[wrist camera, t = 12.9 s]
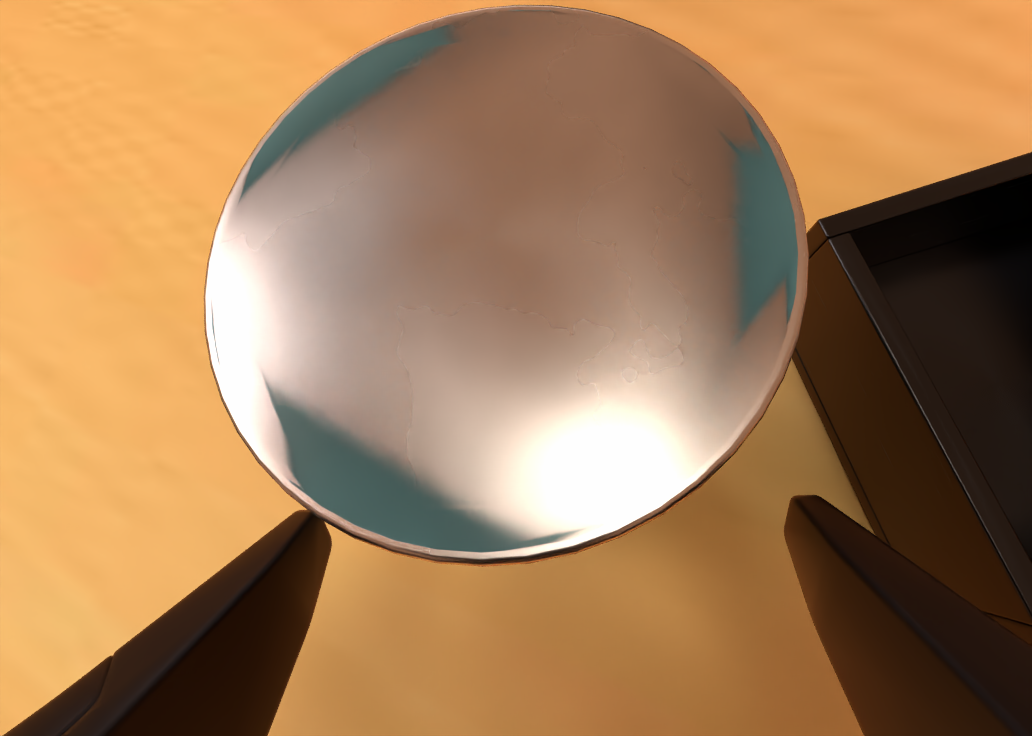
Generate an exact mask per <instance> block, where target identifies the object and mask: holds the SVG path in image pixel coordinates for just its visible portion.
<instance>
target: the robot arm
mask: <svg viewBox="0 0 1032 736" xmlns="http://www.w3.org/2000/svg"><path fill="white" fill-rule="evenodd" d="M784 536H785V540H786V543H787V546H788V549H789V552H790V555H791V558H792V561H793V564H794V567H795V570H796V573H797V576H798V579H799V582H800V585H801V588H802V591H803V594H804V597H805V600H806V603H807V606H808V609H809V612H810V615H811V618H812V621H813V623H814V626H815V628H816V631H817V633H818V635H819V638H820V640H821V642H822V644H823V646H824V649H825V651H826V653H827V655H828V657H829V660H830V662H831V664H832V666H833V668H834V670H835V673H836V675H837V677H838V679H839V681H840V684H841V686H842V688H843V690H844V692H845V695H846V697H847V699H848V701H849V703H850V705H851V708H852V710H853V712H854V714H855V716H856V719H857V721H858V723H859V725H860V727H861V730H862V732H863V734H864V736H1032V646H1031V645H1030V644H1028V643H1027V642H1025V641H1024V640H1022V639H1021V638H1020V637H1018V636H1017V635H1015V634H1014V633H1013V632H1011V631H1010V630H1008V629H1007V628H1005V627H1004V626H1003V625H1001V624H1000V623H998V622H997V621H996V620H994V619H993V618H991V617H990V616H988V615H987V614H986V613H984V612H983V611H981V610H980V609H979V608H977V607H976V606H974V605H973V604H972V603H970V602H969V601H967V600H966V599H964V598H963V597H962V596H960V595H959V594H957V593H956V592H955V591H953V590H952V589H950V588H949V587H947V586H946V585H945V584H943V583H942V582H940V581H939V580H938V579H936V578H935V577H933V576H932V575H930V574H929V573H928V572H926V571H925V570H923V569H922V568H921V567H919V566H918V565H916V564H915V563H913V562H912V561H911V560H909V559H908V558H906V557H905V556H904V555H902V554H901V553H899V552H898V551H897V550H895V549H894V548H892V547H891V546H889V545H888V544H887V543H885V542H884V541H882V540H881V539H880V538H878V537H877V536H875V535H874V534H872V533H871V532H870V531H868V530H867V529H865V528H864V527H863V526H861V525H860V524H858V523H857V522H855V521H854V520H853V519H851V518H850V517H848V516H847V515H846V514H844V513H843V512H841V511H840V510H838V509H837V508H836V507H834V506H833V505H831V504H830V503H829V502H827V501H826V500H824V499H823V498H821V497H819V496H817V495H797V496H793V497H792V498H791V500H790V503H789V508H788V512H787V517H786V521H785V526H784ZM331 546H332V541H331V536H330V534H329V531H328V529H327V527H326V524H325V522H324V521H323V520H321V519H319V518H318V517H316V516H315V515H314V514H313V513H311V512H310V511H309V510H299V511H296V512H295V513H293V514H292V515H290V516H289V517H288V518H287V519H285V520H284V521H283V522H281V523H280V524H279V525H278V526H276V527H275V528H274V529H272V530H271V531H270V532H269V533H267V534H266V535H265V536H263V537H262V538H261V539H260V540H258V541H257V542H256V543H254V544H253V545H252V546H251V547H249V548H248V549H247V550H245V551H244V552H243V553H242V554H240V555H239V556H238V557H236V558H235V559H234V560H233V561H231V562H230V563H229V564H227V565H226V566H225V567H224V568H222V569H221V570H220V571H218V572H217V573H216V574H215V575H213V576H212V577H211V578H209V579H208V580H207V581H206V582H204V583H203V584H202V585H200V586H199V587H198V588H197V589H195V590H194V591H193V592H191V593H190V594H189V595H188V596H186V597H185V598H184V599H182V600H181V601H180V602H179V603H177V604H176V605H175V606H173V607H172V608H171V609H170V610H168V611H167V612H166V613H164V614H163V615H162V616H161V617H159V618H158V619H157V620H155V621H154V622H153V623H152V624H150V625H149V626H148V627H146V628H145V629H144V630H143V631H141V632H140V633H139V634H137V635H136V636H135V637H134V638H132V639H131V640H130V641H128V642H127V643H126V644H125V645H123V646H122V647H121V648H119V649H118V650H117V651H116V652H115V653H114V655H113V656H109V657H108V658H106V659H105V660H104V661H103V662H101V663H100V664H99V665H97V666H96V667H95V668H94V669H92V670H91V671H90V672H88V673H87V674H86V675H84V676H83V677H82V678H81V679H79V680H78V681H77V682H75V683H74V684H73V685H71V686H70V687H69V688H67V689H66V690H65V691H63V692H62V693H61V694H59V695H58V696H57V697H55V698H54V699H53V700H51V701H50V702H49V703H47V704H46V705H45V706H43V707H42V708H40V709H39V710H38V711H36V712H35V713H34V714H32V715H31V716H29V717H28V718H27V719H25V720H24V721H22V722H21V723H20V724H18V725H17V726H15V727H14V728H13V729H11V730H10V731H9V732H7V733H6V734H4V735H3V736H267V735H268V733H269V730H270V728H271V725H272V722H273V720H274V717H275V715H276V712H277V709H278V707H279V704H280V702H281V699H282V696H283V694H284V691H285V689H286V686H287V683H288V681H289V678H290V676H291V673H292V671H293V668H294V665H295V663H296V660H297V658H298V655H299V652H300V650H301V647H302V645H303V642H304V639H305V637H306V634H307V631H308V629H309V626H310V623H311V620H312V616H313V613H314V610H315V606H316V602H317V599H318V595H319V591H320V588H321V584H322V581H323V577H324V573H325V570H326V566H327V563H328V559H329V555H330V552H331Z"/></svg>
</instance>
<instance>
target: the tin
mask: <svg viewBox="0 0 1032 736" xmlns="http://www.w3.org/2000/svg"><path fill="white" fill-rule="evenodd" d="M808 259H809V253H808V244H807V235H806V226H805V217H804V212H803V209H802V205H801V201H800V198H799V194H798V190H797V187H796V183H795V179H794V177H793V174H792V172H791V170H790V168H789V165H788V163H787V161H786V159H785V156H784V154H783V152H782V150H781V147H780V145H779V143H778V142H777V140H776V139H775V137H774V136H773V134H772V132H771V131H770V129H769V128H768V126H767V125H766V123H765V121H764V120H763V118H762V117H761V115H760V114H759V113H758V111H757V110H756V109H755V108H754V107H753V106H752V104H751V103H750V102H749V101H748V100H747V99H746V97H745V96H744V95H743V94H742V93H741V92H740V90H739V89H738V88H737V87H736V86H735V85H734V84H733V83H731V82H730V81H729V80H728V79H727V78H726V77H725V76H723V75H722V74H721V73H720V72H719V71H718V70H717V69H716V68H714V67H713V66H712V65H711V64H710V63H708V62H707V61H705V60H704V59H702V58H701V57H699V56H698V55H696V54H695V53H693V52H692V51H690V50H689V49H687V48H686V47H684V46H683V45H681V44H679V43H678V42H676V41H674V40H672V39H670V38H668V37H666V36H664V35H662V34H660V33H658V32H656V31H654V30H652V29H649V28H646V27H644V26H641V25H638V24H635V23H633V22H630V21H627V20H624V19H622V18H619V17H615V16H610V15H606V14H602V13H598V12H593V11H589V10H585V9H576V8H568V7H560V6H552V5H512V6H501V7H490V8H481V9H476V10H471V11H466V12H461V13H455V14H450V15H447V16H444V17H440V18H437V19H434V20H430V21H427V22H423V23H420V24H417V25H415V26H412V27H410V28H407V29H405V30H403V31H400V32H398V33H395V34H393V35H390V36H388V37H386V38H384V39H382V40H380V41H378V42H376V43H374V44H373V45H371V46H369V47H367V48H365V49H363V50H361V51H359V52H357V53H356V54H354V55H353V56H351V57H350V58H348V59H347V60H345V61H344V62H342V63H341V64H339V65H338V66H336V67H335V68H333V69H332V70H330V71H329V72H328V73H326V74H325V75H324V76H323V77H322V78H320V79H319V80H318V81H317V82H315V83H314V84H313V85H312V86H310V87H309V88H308V89H307V90H306V91H304V92H303V93H302V94H301V95H300V96H299V97H298V98H297V99H296V100H295V101H294V102H293V103H292V104H291V105H290V106H289V107H288V108H287V109H286V110H285V111H284V112H283V113H282V114H281V115H280V116H279V118H278V119H277V120H276V121H275V123H274V124H273V125H272V126H271V128H270V129H269V130H268V131H267V132H266V134H265V135H264V136H263V137H262V139H261V140H260V141H259V143H258V144H257V146H256V147H255V149H254V150H253V152H252V153H251V155H250V156H249V158H248V160H247V161H246V163H245V164H244V166H243V167H242V169H241V171H240V173H239V175H238V177H237V179H236V181H235V183H234V185H233V187H232V189H231V191H230V193H229V195H228V197H227V199H226V201H225V204H224V207H223V209H222V212H221V215H220V218H219V221H218V223H217V226H216V229H215V232H214V236H213V241H212V245H211V249H210V254H209V258H208V262H207V271H206V280H205V290H204V321H205V336H206V341H207V347H208V353H209V359H210V365H211V369H212V372H213V375H214V378H215V381H216V384H217V387H218V391H219V394H220V397H221V400H222V402H223V404H224V406H225V408H226V410H227V412H228V414H229V416H230V418H231V420H232V422H233V424H234V426H235V428H236V431H237V433H238V434H239V435H240V437H241V438H242V440H243V441H244V443H245V444H246V446H247V447H248V448H249V450H250V451H251V453H252V454H253V456H254V457H255V459H256V460H257V462H258V463H259V464H260V465H261V466H262V467H263V468H264V470H265V471H266V472H267V473H268V474H269V475H270V476H271V477H272V478H273V479H274V480H275V481H276V482H277V483H278V484H279V485H280V487H281V488H282V489H283V490H284V491H285V492H286V493H287V494H288V495H290V496H291V497H292V498H293V499H295V500H296V501H297V502H299V503H300V504H301V505H302V506H304V507H305V508H306V509H308V510H309V511H310V512H311V513H313V514H314V515H315V516H316V517H318V518H319V519H321V520H323V521H325V522H326V523H328V524H330V525H332V526H333V527H335V528H337V529H339V530H341V531H342V532H344V533H346V534H348V535H349V536H351V537H353V538H355V539H357V540H360V541H363V542H365V543H368V544H371V545H373V546H376V547H378V548H381V549H384V550H386V551H389V552H391V553H394V554H398V555H403V556H407V557H412V558H416V559H421V560H425V561H430V562H434V563H442V564H455V565H469V566H482V567H484V566H498V565H513V564H528V563H533V562H538V561H543V560H548V559H552V558H557V557H562V556H566V555H571V554H576V553H578V552H581V551H584V550H587V549H589V548H592V547H595V546H598V545H600V544H603V543H606V542H609V541H611V540H614V539H617V538H620V537H622V536H624V535H626V534H627V533H629V532H631V531H633V530H635V529H637V528H639V527H641V526H642V525H644V524H646V523H648V522H650V521H652V520H654V519H655V518H657V517H659V516H661V515H663V514H664V513H666V512H667V511H668V510H670V509H671V508H673V507H674V506H675V505H677V504H678V503H679V502H681V501H682V500H683V499H685V498H686V497H688V496H689V495H690V494H692V493H693V492H694V491H696V490H697V489H698V488H700V487H701V486H702V485H703V484H704V483H705V482H706V481H707V480H708V479H709V478H710V477H711V476H712V475H713V474H714V473H715V472H717V471H718V470H719V469H720V468H721V467H722V466H723V465H724V464H725V463H726V462H727V461H728V460H729V459H730V458H731V457H732V456H733V455H734V454H735V453H736V451H737V450H738V449H739V447H740V446H741V445H742V443H743V442H744V441H745V439H746V438H747V437H748V436H749V434H750V433H751V432H752V430H753V429H754V428H755V426H756V425H757V424H758V422H759V421H760V420H761V418H762V417H763V415H764V413H765V412H766V410H767V408H768V406H769V404H770V402H771V401H772V399H773V397H774V395H775V393H776V392H777V390H778V388H779V386H780V384H781V382H782V381H783V379H784V376H785V374H786V371H787V368H788V365H789V363H790V360H791V357H792V355H793V352H794V349H795V346H796V344H797V341H798V338H799V333H800V329H801V324H802V319H803V314H804V309H805V304H806V299H807V282H808Z"/></svg>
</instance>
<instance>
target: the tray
mask: <svg viewBox="0 0 1032 736" xmlns="http://www.w3.org/2000/svg"><path fill="white" fill-rule="evenodd" d="M806 235H807V244H808V253H809V259H808V282H807V299H806V304H805V309H804V314H803V319H802V324H801V329H800V333H799V338H798V341H797V344H796V346H795V349H794V352H793V355H792V359H793V361H794V363H795V365H796V367H797V370H798V372H799V374H800V376H801V378H802V380H803V382H804V384H805V387H806V389H807V391H808V393H809V395H810V397H811V399H812V401H813V403H814V406H815V408H816V410H817V412H818V414H819V416H820V418H821V420H822V422H823V425H824V427H825V429H826V431H827V433H828V435H829V437H830V439H831V441H832V444H833V446H834V448H835V450H836V452H837V454H838V456H839V458H840V460H841V463H842V465H843V467H844V469H845V471H846V473H847V475H848V477H849V480H850V482H851V484H852V486H853V488H854V490H855V492H856V494H857V496H858V499H859V501H860V503H861V505H862V507H863V509H864V511H865V513H866V515H867V518H868V520H869V522H870V524H871V526H872V528H873V530H874V532H875V534H876V536H877V537H878V538H880V539H881V540H882V541H884V542H885V543H887V544H888V545H889V546H891V547H892V548H894V549H895V550H897V551H898V552H899V553H901V554H902V555H904V556H905V557H906V558H908V559H909V560H911V561H912V562H913V563H915V564H916V565H918V566H919V567H921V568H922V569H923V570H925V571H926V572H928V573H929V574H930V575H932V576H933V577H935V578H936V579H938V580H939V581H940V582H942V583H943V584H945V585H946V586H947V587H949V588H950V589H952V590H953V591H955V592H956V593H957V594H959V595H960V596H962V597H963V598H964V599H966V600H967V601H969V602H970V603H972V604H973V605H974V606H976V607H977V608H979V609H980V610H981V611H983V612H984V613H986V614H987V615H988V616H990V617H991V618H993V619H994V620H996V621H997V622H998V623H1000V624H1001V625H1003V626H1004V627H1005V628H1007V629H1008V630H1010V631H1011V632H1013V633H1014V634H1015V635H1017V636H1018V637H1020V638H1021V639H1022V640H1024V641H1025V642H1027V643H1028V644H1030V645H1031V646H1032V152H1031V153H1027V154H1024V155H1021V156H1018V157H1015V158H1012V159H1009V160H1005V161H1002V162H999V163H996V164H993V165H990V166H986V167H983V168H980V169H977V170H974V171H971V172H967V173H964V174H961V175H958V176H955V177H952V178H949V179H945V180H942V181H939V182H936V183H933V184H930V185H926V186H923V187H920V188H917V189H914V190H911V191H908V192H904V193H901V194H898V195H895V196H892V197H889V198H885V199H882V200H879V201H876V202H873V203H870V204H866V205H863V206H860V207H857V208H854V209H851V210H848V211H844V212H841V213H838V214H835V215H832V216H829V217H825V218H822V219H819V220H818V221H817V222H816V223H815V224H814V225H813V227H812V228H811V229H810V230H809V231H808V232H807V234H806Z"/></svg>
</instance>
